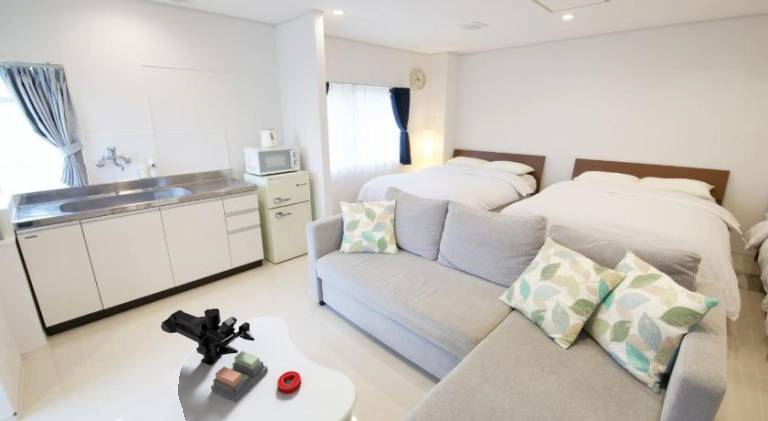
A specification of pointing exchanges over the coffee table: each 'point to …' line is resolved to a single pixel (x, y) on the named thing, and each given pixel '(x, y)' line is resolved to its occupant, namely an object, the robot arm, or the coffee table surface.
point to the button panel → (244, 386)
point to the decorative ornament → (286, 377)
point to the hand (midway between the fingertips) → (246, 345)
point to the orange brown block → (228, 377)
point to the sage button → (247, 360)
